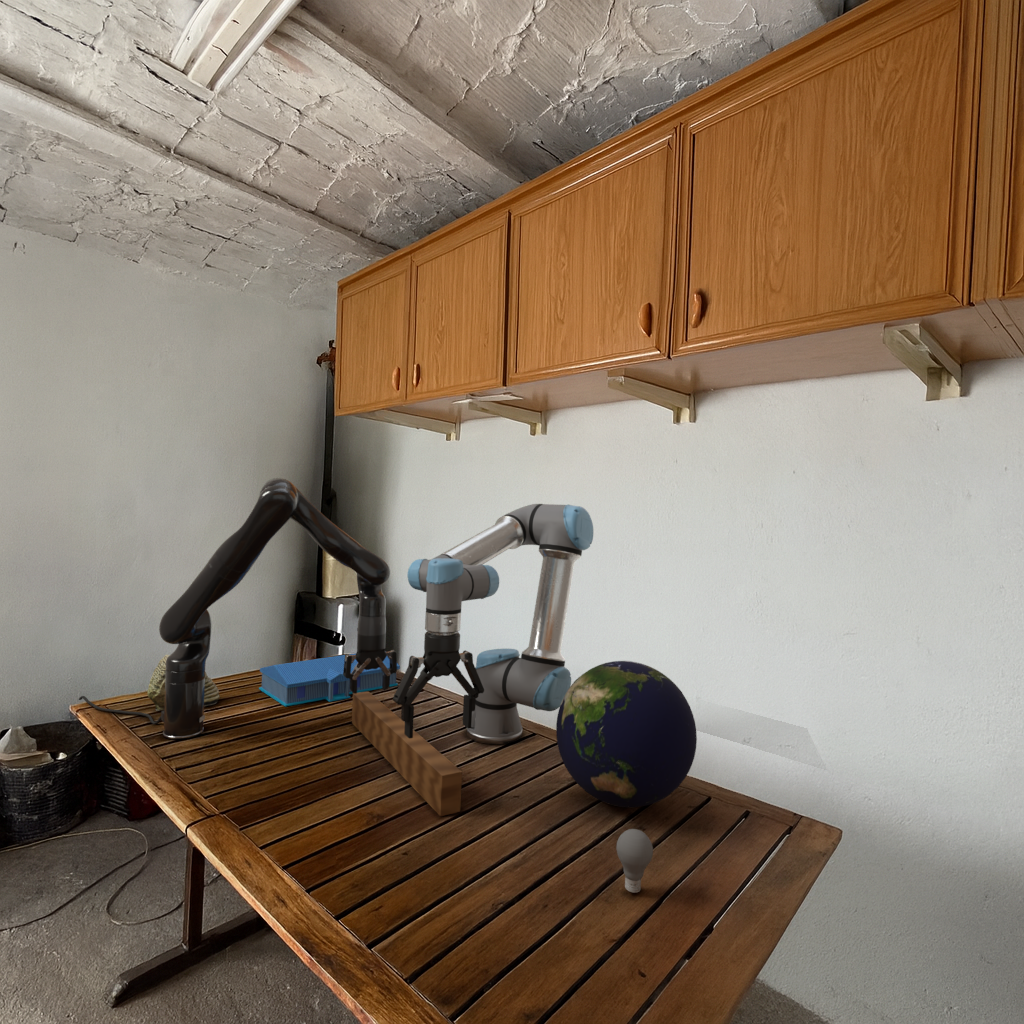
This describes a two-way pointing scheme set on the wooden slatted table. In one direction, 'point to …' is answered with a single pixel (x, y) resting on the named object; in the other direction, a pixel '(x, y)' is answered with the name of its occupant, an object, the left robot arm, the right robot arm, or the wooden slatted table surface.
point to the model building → (318, 680)
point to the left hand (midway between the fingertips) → (369, 690)
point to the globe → (626, 734)
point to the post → (409, 754)
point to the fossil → (158, 687)
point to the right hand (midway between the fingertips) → (438, 731)
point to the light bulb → (634, 857)
